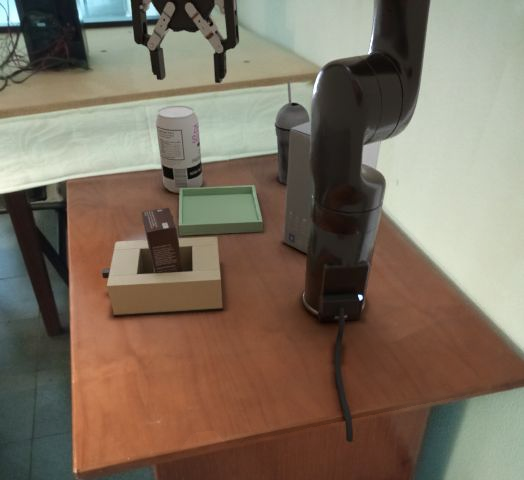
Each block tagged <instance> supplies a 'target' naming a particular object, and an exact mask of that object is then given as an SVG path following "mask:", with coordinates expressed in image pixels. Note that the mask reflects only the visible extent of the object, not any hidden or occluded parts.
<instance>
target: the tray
mask: <svg viewBox="0 0 524 480" xmlns="http://www.w3.org/2000/svg"><path fill="white" fill-rule="evenodd" d="M178 194H179V196H178V197H179V198H178V231H179V232H178V233H179V236H180V237H181V236H202V235H203V236H205V235H221V234H241V233H263V231H264V230H263V229H264V227H263V226H264V222H263V221H264V220H263V216H262V212H261V208H260V204H259V200H258V194H257V190H256V186H255V185H254V184H251V185H247V184H246V185H230V186H229V185H227V186H225V185H224V186H200V187H198V188H180V190H179V193H178Z"/></svg>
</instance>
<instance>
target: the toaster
mask: <svg viewBox="0 0 524 480" xmlns="http://www.w3.org/2000/svg"><path fill="white" fill-rule="evenodd" d="M178 240H179V248H180V254H181V260H182V267H183V272H171V273H153V268H152V263H151V258H150V253H149V247H148V242H147V239H142V240H123V241H115V243H114V248H113V253H112V258H111V263H110V267H109V268H102V272H101V274H102V278H103V279H107V283H106V288H107V293H108V296H109V297H108V298H109V301H110V304H111V309H112V316H113V317H114V318H117V317H131V316H132V317H133V316H147V315H148V316H149V315H163V314H165V315H166V314H179V313H193V312H194V313H195V312H196V313H197V312H209V311H210V312H211V311H223V310H224V304H223V303H224V301H223V290H222V278H221V277H222V276H221V266H220V255H219V254H220V253H219V243H218V236H203V237H201V236H200V237H181V238H178Z"/></svg>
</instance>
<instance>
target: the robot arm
mask: <svg viewBox="0 0 524 480" xmlns="http://www.w3.org/2000/svg"><path fill="white" fill-rule="evenodd" d="M431 1H432V0H373V13H372V25H371V33H370V41H369V45H368V50H367V54H361V55H360V54H359V55H355V56H348V57H342V58H337V59H333V60H330V61H328V62H327V63H326V64H324V65H323V66H322V67H321V69H320V70H319V71H318V74H317V76H316V79H315V81H314V84H313V87H312V92H311V93H312V94H311V100H310V115H309V120H310V160H309V164H310V173H311V178H312V184H313V189H312V201H311V214H310V224H309V237H308V249H307V254H306V262H305V263H306V264H305V273H304V277H305V278H304V288H303V294H302V304H303V307H304V308H305V309H306V310H307V312H308V313H310V314H312V315H313V316H315V317H317V319H318V322H320V323H325V322H326V323H327V322H338V328H337V329H338V331H337V335H336V338H335V339H336V340H335V347H334V373H335V382H336V387H337V392H338V399H339V403H340V407H341V409H342V413H343V416H344V417H343V418H344V422H345V437H346V439H345V440H346V441H347V442H348V443H352V442H354V435H353V434H354V433H353V431H354V429H353V420H352V415H351V410H350V408H349V405H348V401H347V397H346V393H345V392H346V391H345V387H344V382H343V376H342V367H341V366H342V365H341V352H342V342H343V337H344V331H345V321H356V320H360V319H361V317H362V312H364V309H365V305H366V296H367V291H368V290H367V289H368V285H369V279H370V274H371V268H372V263H373V258H374V257H373V256H374V253H375V247H376V242H377V236H378V232H379V231H378V230H379V227H380V221H381V215H382V211H383V210H382V209H383V206H384V200H385V195H386V188H387V182H386V178H385V175H384V174H383V173H382V172H381V171H379V170H378V169H377V168H376V169H375V168H373V167H370V166H368V165H365V164H362V157H363V146H364V145H367V144H371V143H376V142H380V141H381V142H383V141H387V140H391V139H393V138H395V137H397V136H399V135H400V134H401V133H402V132H404V131H405V130H406V128H407V127H408V126H409V124H410V123H411V121H412V118H413V116H414V114H415V111H416V108H417V104H418V100H419V95H420V89H421V88H420V87H421V83H422V76H423V75H422V74H423V69H424V68H423V66H424V58H425V50H426V42H427V41H426V40H427V31H428V24H429V14H430V7H431ZM129 2H130V11H131V22H132V30H133V31H132V32H133V41H134V43H135V44H136V45H141V46H144V47H145V48H147V49H148V51H149V60H150V66H151V72H152V75H153V76H156V80H157V81H163V80H164V79H165V78H166V64H165V57H164V48H163V47H161V45H162V43H163V41H164V39H165V37H166V36H167V34H168V32H169V31H170V30H171V31H172V32H173V33H180V32H188V33H197V32H200V33H201V34H202V35H203V37H204V38H205V40H207V42H209V44H210V46H211V47H212V48H213V50H214V53H213V71H214V72H213V73H214V74H213V75H214V83H215V84H221V83H222V82H223V79H225V78H226V76H227V72H228V71H227V69H228V68H227V51H229V50H233V49H235V48H236V46H237V45H239V43H240V29H239V17H238V16H239V15H238V3H237V2H238V1H237V0H130V1H129ZM151 4H152V7H154V9H155V10H156V12H157V13H158V15H159V19H158V20H157V22H156V24H155V26H154V28H153V32H152V33H151V34H149V31H148V17H147V11H149V9H150V6H151ZM215 6H217V7H218V8H219V12H220V14H222V15H224V20H225V21H224V22H225V23H224V24H225V32H226V33H225V34H226V38H225V37H223V35H222V34H221V32H220V30H219V28H218V25H217V24H216V23H215V21H214V19H213V18H212V17H211V13H212V12H213V10H214V8H215Z"/></svg>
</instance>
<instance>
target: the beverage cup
mask: <svg viewBox="0 0 524 480" xmlns="http://www.w3.org/2000/svg"><path fill="white" fill-rule="evenodd" d="M286 81H287V97H288V103H286V104H284V105H283V106H281V108H280V109H278V112H277V114H276V116H275V122H274V127H275V136H276V145H277V164H278V165H277V166H278V175H279V177H278V178H279V182H280V183H281V184H283V185H284V184H285V185H287V176H288V159H289V139H290V130H291V128H293V127H296V126H298V125H301V124H304V123H307V122H309V121H310V115H309V112H308V110H307V109H306V108H305V107H304V106H303V105H302V104H300V103H298V102H292V91H291V78H290V77H287V78H286Z"/></svg>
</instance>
